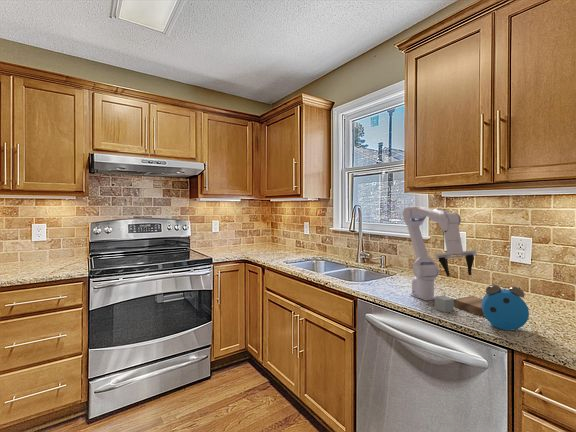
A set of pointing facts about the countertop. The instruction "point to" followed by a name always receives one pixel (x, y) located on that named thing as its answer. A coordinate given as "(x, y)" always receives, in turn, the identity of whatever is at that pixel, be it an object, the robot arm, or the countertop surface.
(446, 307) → the slate cube
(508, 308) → the alarm clock
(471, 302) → the walnut base
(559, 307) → the countertop surface
